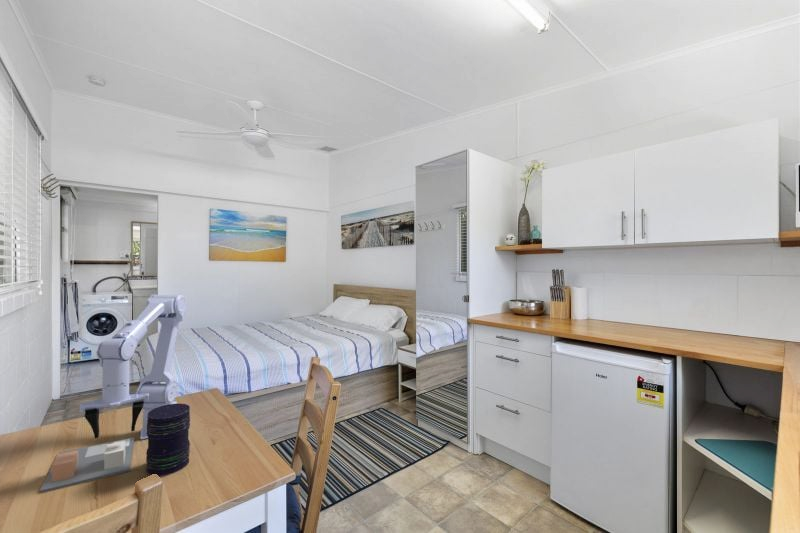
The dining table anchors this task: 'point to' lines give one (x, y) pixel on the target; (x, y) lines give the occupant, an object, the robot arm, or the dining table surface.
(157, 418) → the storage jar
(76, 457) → the terracotta brick
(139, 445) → the dining table surface
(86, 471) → the baseplate
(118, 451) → the off-white brick
